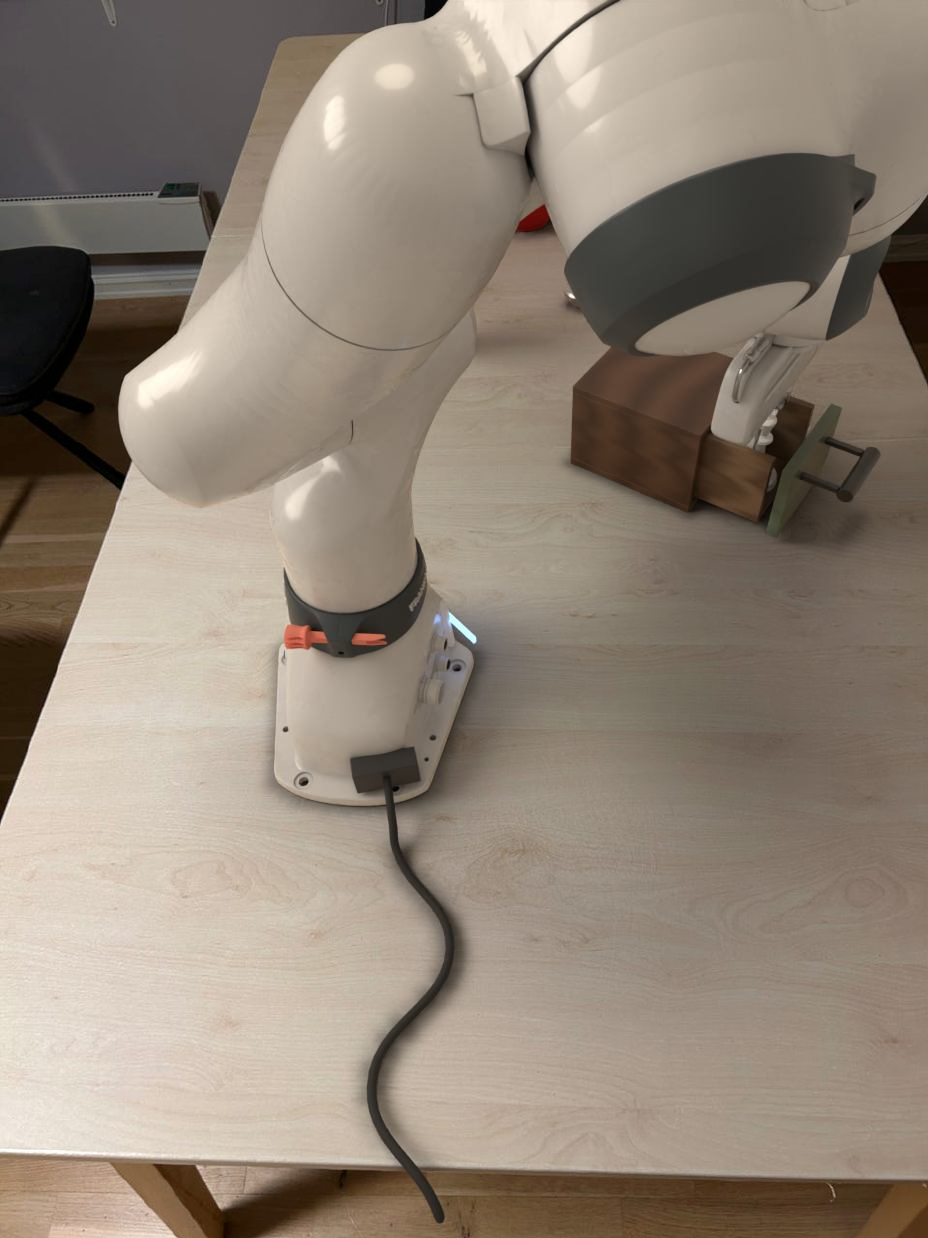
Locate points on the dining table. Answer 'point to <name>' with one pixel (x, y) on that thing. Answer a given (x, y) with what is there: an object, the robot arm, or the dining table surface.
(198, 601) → the dining table surface
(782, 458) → the drawer
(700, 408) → the cabinet
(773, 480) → the chess piece
